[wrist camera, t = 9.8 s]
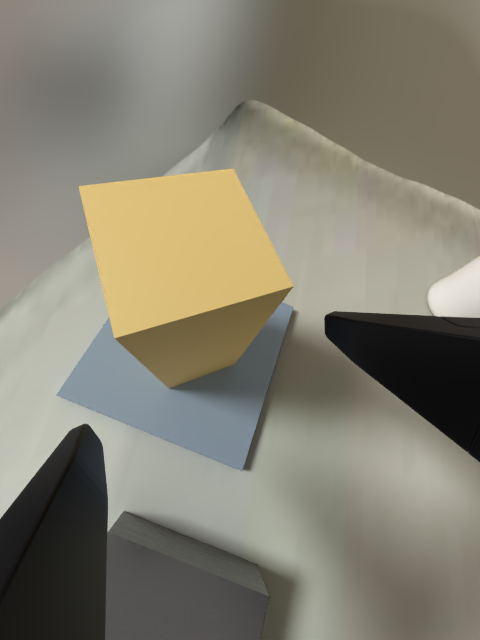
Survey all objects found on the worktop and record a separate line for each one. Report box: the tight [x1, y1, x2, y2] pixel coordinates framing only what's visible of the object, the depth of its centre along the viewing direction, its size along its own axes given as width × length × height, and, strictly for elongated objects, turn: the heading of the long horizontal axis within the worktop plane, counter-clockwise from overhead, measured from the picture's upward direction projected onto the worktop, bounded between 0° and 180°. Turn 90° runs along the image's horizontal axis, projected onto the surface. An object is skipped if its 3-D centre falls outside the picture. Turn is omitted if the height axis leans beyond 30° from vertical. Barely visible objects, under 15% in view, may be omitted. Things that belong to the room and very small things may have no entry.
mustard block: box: [79, 169, 293, 388], centre depth 11 cm, size 5×5×11 cm
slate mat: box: [57, 302, 293, 471], centre depth 17 cm, size 12×12×1 cm
